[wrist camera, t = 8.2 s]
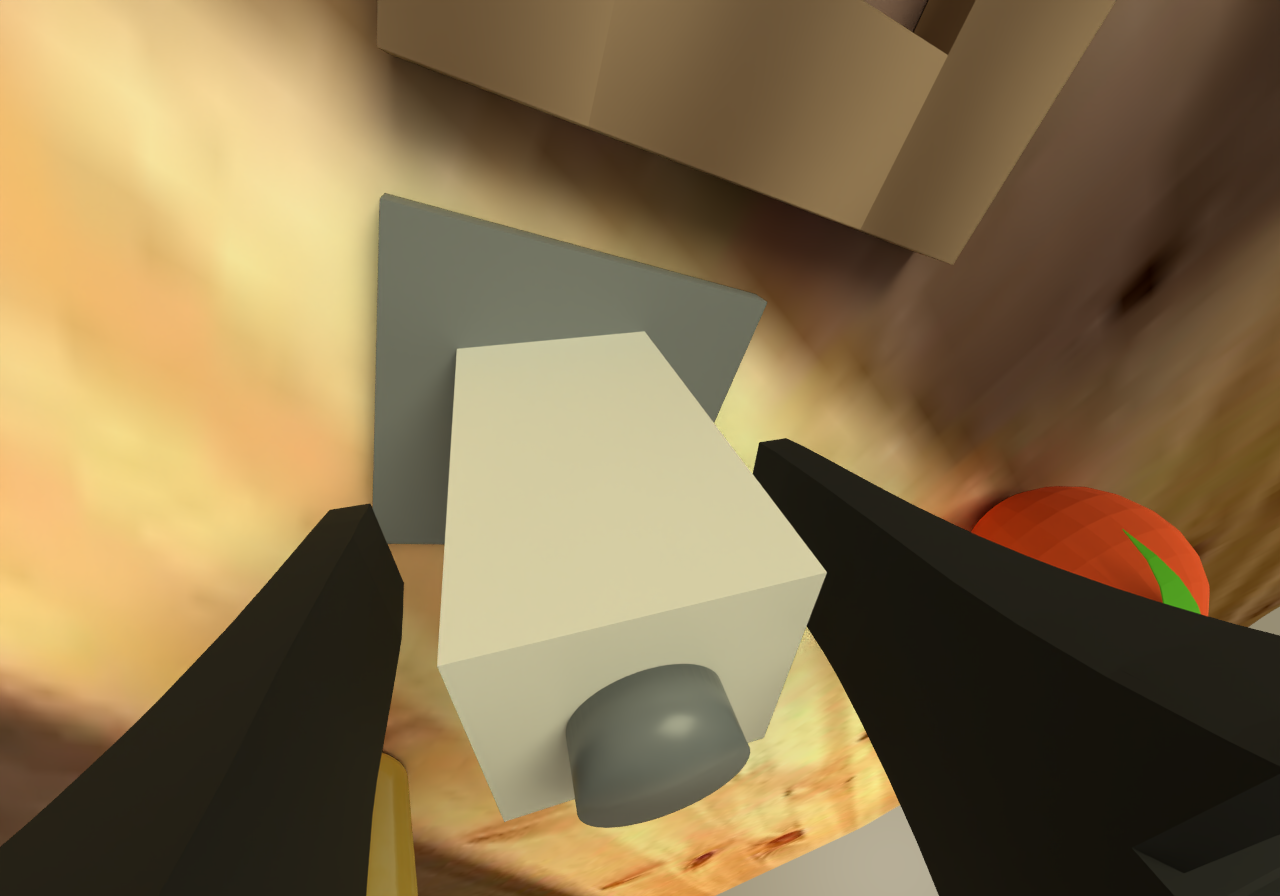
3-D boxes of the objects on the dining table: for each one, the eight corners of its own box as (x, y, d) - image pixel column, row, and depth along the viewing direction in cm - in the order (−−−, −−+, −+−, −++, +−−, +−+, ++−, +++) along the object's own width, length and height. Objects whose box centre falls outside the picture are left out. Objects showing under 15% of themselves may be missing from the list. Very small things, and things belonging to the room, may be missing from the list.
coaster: (755, 293, 11) (767, 302, 11) (653, 533, 15) (658, 547, 15) (385, 193, 8) (379, 198, 8) (375, 526, 12) (371, 543, 12)
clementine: (918, 494, 18) (1108, 660, 13) (1081, 403, 18) (1350, 535, 13) (928, 588, 24) (1068, 737, 18) (1056, 519, 23) (1240, 649, 18)
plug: (644, 331, 11) (875, 636, 5) (641, 470, 13) (789, 795, 7) (456, 349, 10) (430, 764, 4) (489, 495, 12) (507, 897, 6)
